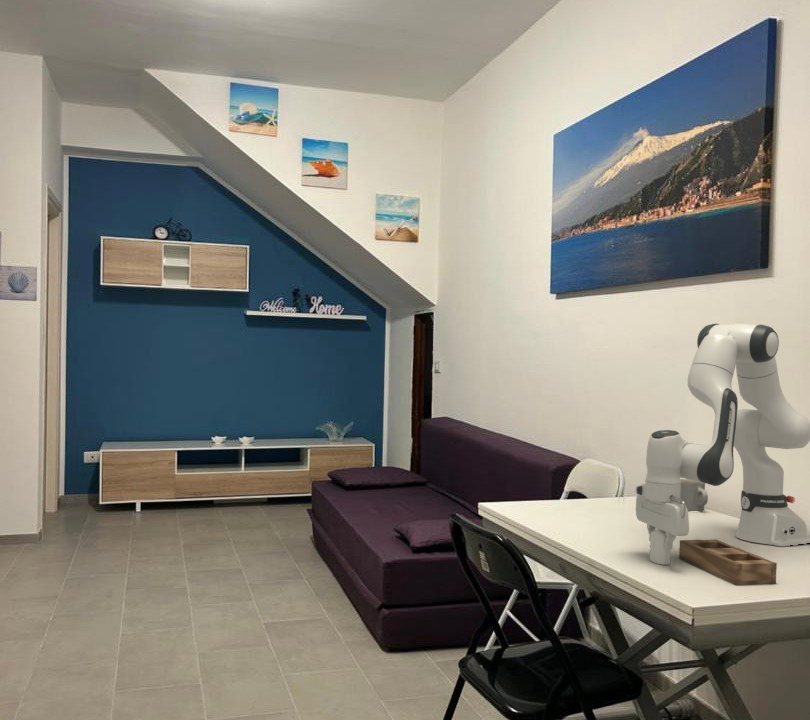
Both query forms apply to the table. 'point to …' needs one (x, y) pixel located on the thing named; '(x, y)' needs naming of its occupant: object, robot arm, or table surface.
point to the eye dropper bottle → (659, 548)
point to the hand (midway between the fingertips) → (660, 545)
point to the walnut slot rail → (728, 562)
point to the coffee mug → (693, 494)
